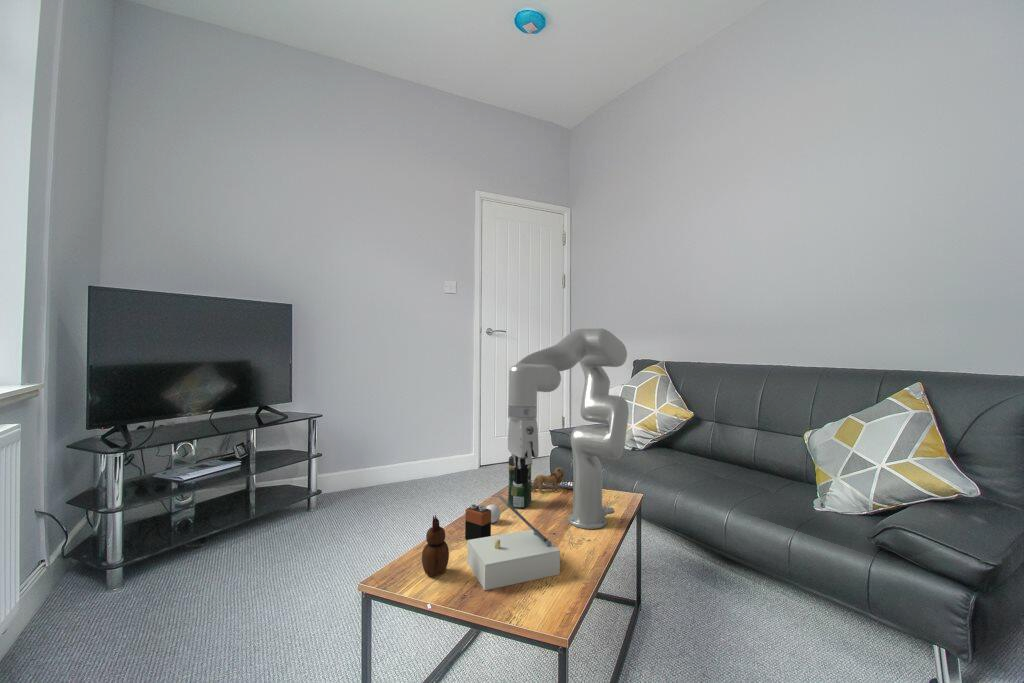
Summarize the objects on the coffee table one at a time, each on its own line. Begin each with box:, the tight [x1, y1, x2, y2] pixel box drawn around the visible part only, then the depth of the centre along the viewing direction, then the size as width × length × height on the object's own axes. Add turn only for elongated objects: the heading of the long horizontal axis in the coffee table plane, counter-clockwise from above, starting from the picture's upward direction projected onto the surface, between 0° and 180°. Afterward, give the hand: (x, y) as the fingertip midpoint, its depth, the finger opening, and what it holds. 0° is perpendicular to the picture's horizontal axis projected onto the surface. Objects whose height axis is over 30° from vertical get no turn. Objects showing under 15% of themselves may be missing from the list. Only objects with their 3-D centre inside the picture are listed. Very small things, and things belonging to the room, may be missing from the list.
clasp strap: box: [498, 494, 549, 544], centre depth 113 cm, size 17×6×1 cm
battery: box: [464, 504, 492, 541], centre depth 128 cm, size 4×7×10 cm, turn 55°
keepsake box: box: [466, 528, 561, 591], centre depth 112 cm, size 20×14×8 cm
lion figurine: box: [531, 467, 565, 494], centre depth 173 cm, size 15×5×9 cm, turn 110°
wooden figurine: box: [421, 515, 450, 578], centre depth 109 cm, size 7×6×15 cm
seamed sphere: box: [485, 503, 501, 524], centre depth 141 cm, size 8×6×6 cm
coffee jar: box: [507, 455, 532, 509], centre depth 158 cm, size 10×8×19 cm
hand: (520, 482), depth 113 cm, fingers closed
